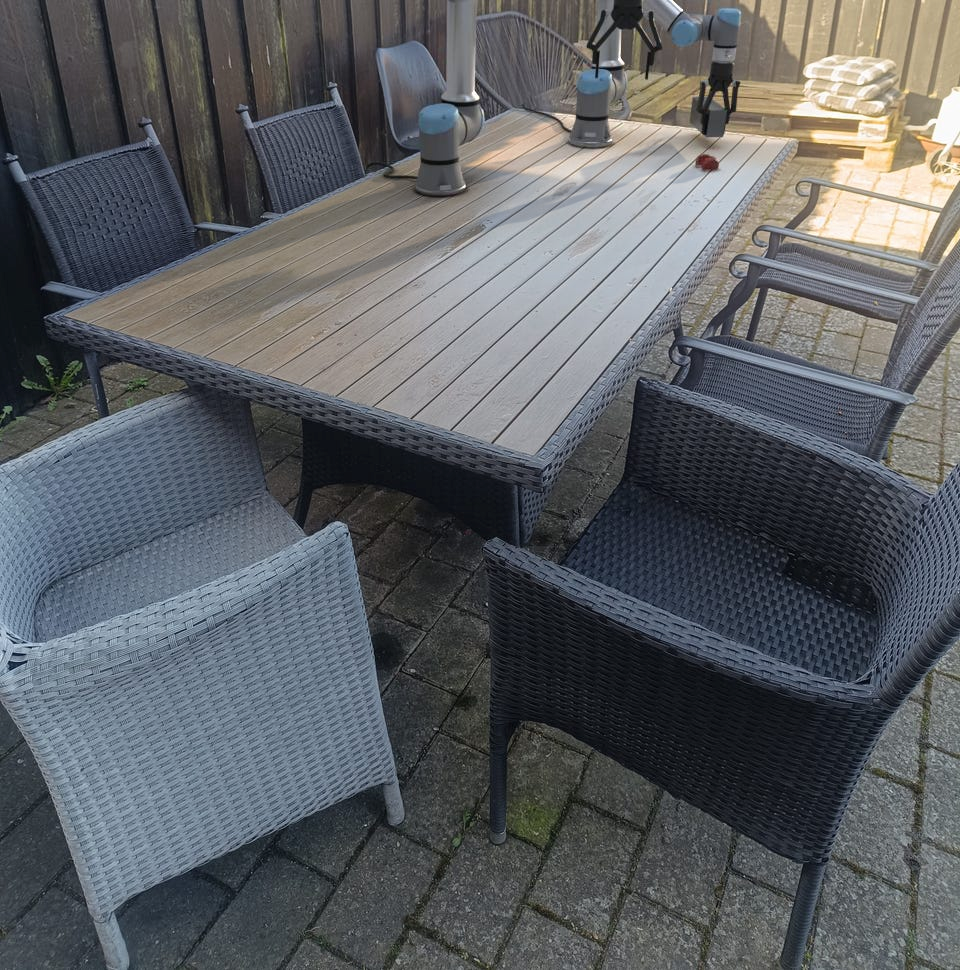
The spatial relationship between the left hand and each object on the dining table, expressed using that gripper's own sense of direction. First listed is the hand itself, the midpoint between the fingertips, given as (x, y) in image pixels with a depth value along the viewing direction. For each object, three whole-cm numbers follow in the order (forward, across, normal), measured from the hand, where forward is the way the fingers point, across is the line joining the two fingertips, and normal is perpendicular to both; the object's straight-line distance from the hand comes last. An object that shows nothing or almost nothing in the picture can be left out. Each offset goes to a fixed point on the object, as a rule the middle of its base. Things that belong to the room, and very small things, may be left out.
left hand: (621, 78), depth 232 cm
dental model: (+33, -30, -39) cm, 59 cm away
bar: (+29, -32, -74) cm, 86 cm away
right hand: (+28, -34, -66) cm, 79 cm away
